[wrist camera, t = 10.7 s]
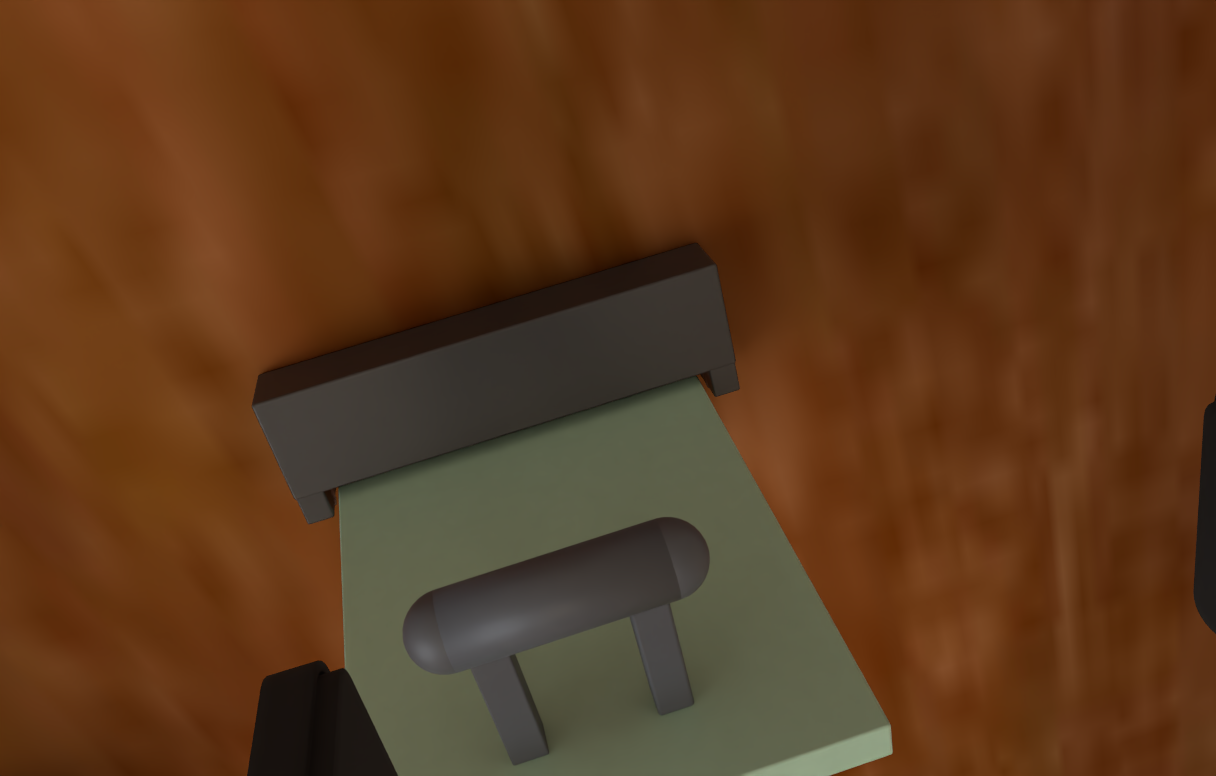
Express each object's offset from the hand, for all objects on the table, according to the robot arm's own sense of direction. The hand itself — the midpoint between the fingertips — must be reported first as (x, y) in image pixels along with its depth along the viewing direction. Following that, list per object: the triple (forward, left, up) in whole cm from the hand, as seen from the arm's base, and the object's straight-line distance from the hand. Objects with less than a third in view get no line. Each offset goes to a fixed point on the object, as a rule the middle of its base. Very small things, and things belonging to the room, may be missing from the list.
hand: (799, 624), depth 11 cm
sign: (+9, +2, -13) cm, 16 cm away
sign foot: (+6, 0, -20) cm, 21 cm away
